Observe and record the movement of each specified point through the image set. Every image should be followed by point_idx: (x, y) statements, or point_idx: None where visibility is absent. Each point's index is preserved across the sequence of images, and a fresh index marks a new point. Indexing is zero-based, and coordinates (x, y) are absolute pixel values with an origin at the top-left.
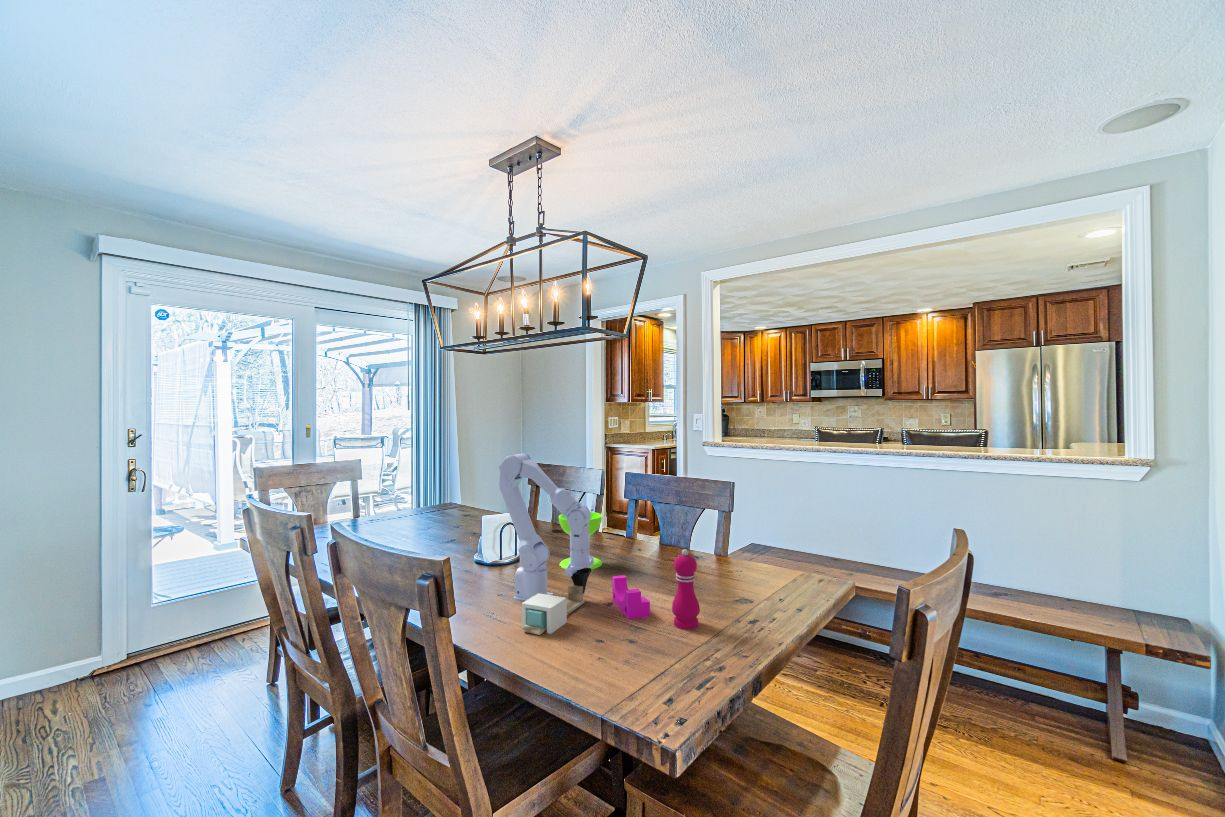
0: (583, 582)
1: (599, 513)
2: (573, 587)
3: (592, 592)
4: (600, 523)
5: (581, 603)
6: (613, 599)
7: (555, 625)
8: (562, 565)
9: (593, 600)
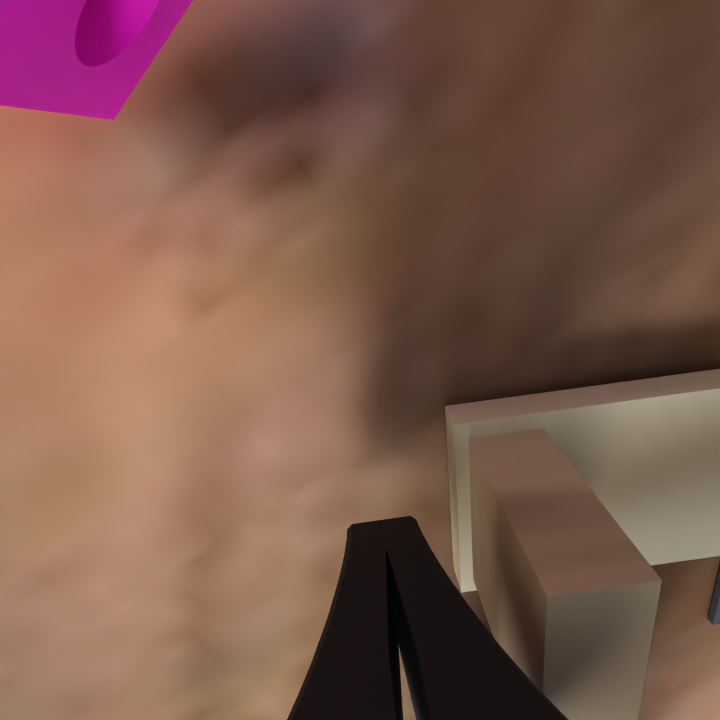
0: (496, 675)
1: None
2: (638, 676)
3: (53, 536)
4: None
5: (540, 402)
6: (127, 66)
7: None
8: None
9: (268, 381)
